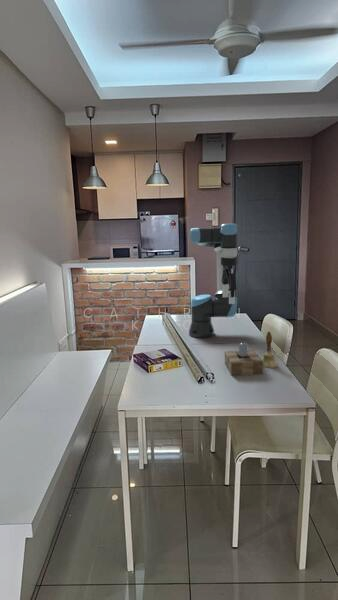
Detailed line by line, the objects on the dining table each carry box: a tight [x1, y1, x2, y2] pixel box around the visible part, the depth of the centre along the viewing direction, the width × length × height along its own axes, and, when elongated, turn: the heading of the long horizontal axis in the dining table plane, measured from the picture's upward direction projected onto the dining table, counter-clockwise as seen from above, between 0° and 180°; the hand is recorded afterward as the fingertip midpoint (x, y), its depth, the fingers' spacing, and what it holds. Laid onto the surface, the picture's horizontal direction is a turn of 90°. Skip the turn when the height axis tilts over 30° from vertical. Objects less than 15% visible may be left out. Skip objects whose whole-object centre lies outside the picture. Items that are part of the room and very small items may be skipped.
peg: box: [238, 342, 248, 359], centre depth 167 cm, size 4×4×12 cm
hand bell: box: [262, 331, 279, 369], centre depth 170 cm, size 8×8×16 cm
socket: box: [224, 349, 264, 377], centre depth 167 cm, size 14×14×6 cm
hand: (228, 300), depth 179 cm, fingers open, 13 cm apart
